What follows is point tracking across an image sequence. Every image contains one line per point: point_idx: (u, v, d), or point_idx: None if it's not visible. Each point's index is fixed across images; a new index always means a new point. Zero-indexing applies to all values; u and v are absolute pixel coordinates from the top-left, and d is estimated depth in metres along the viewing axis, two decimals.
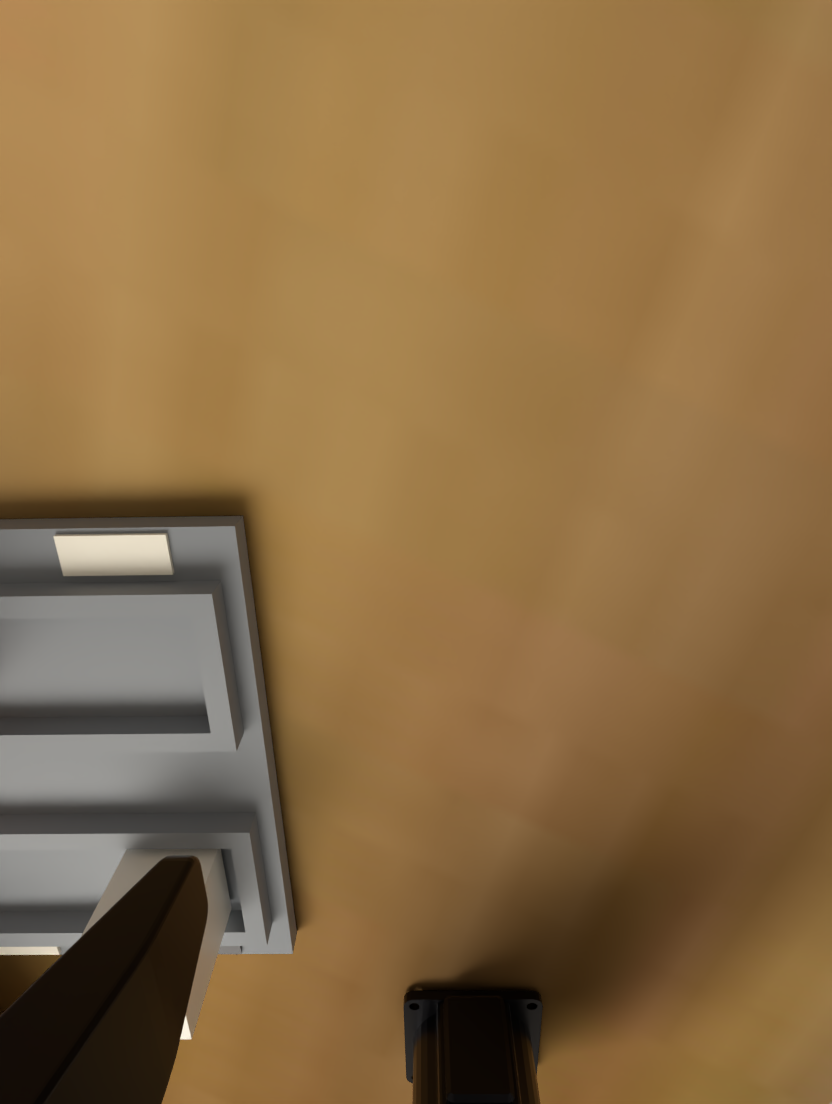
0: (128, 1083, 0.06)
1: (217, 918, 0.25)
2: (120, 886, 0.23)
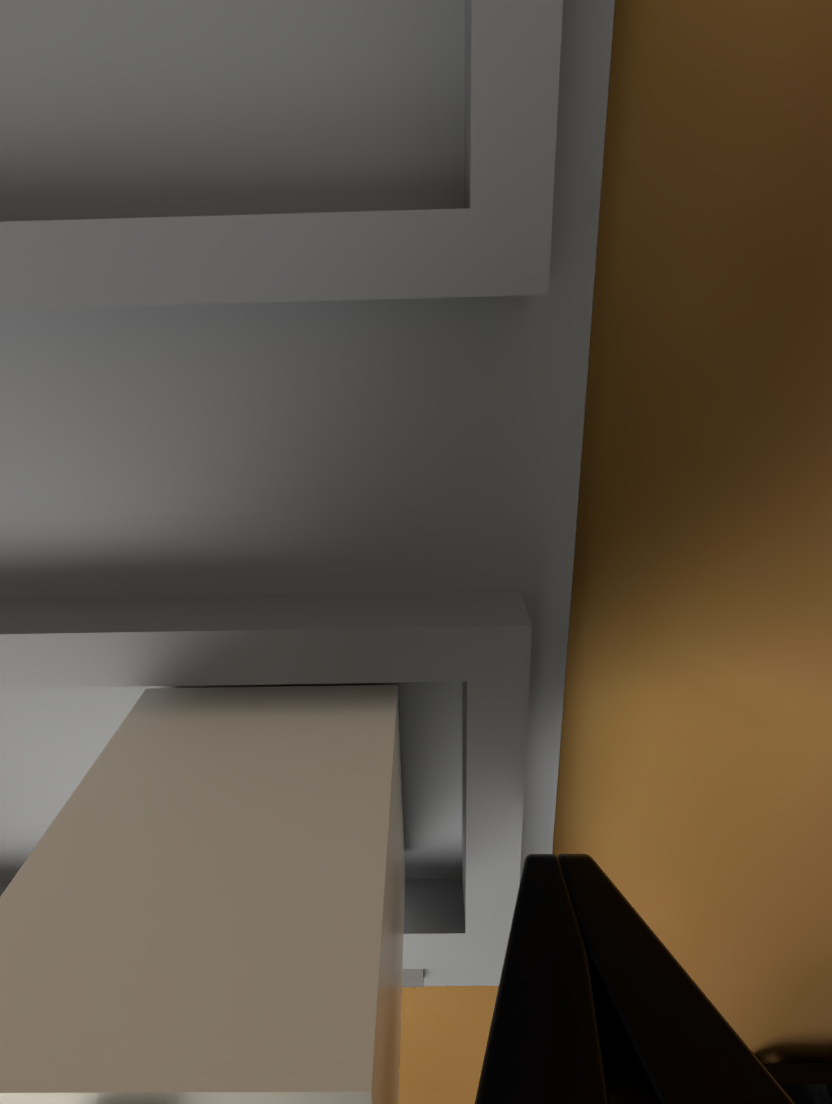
0: None
1: (399, 891, 0.09)
2: (122, 783, 0.07)
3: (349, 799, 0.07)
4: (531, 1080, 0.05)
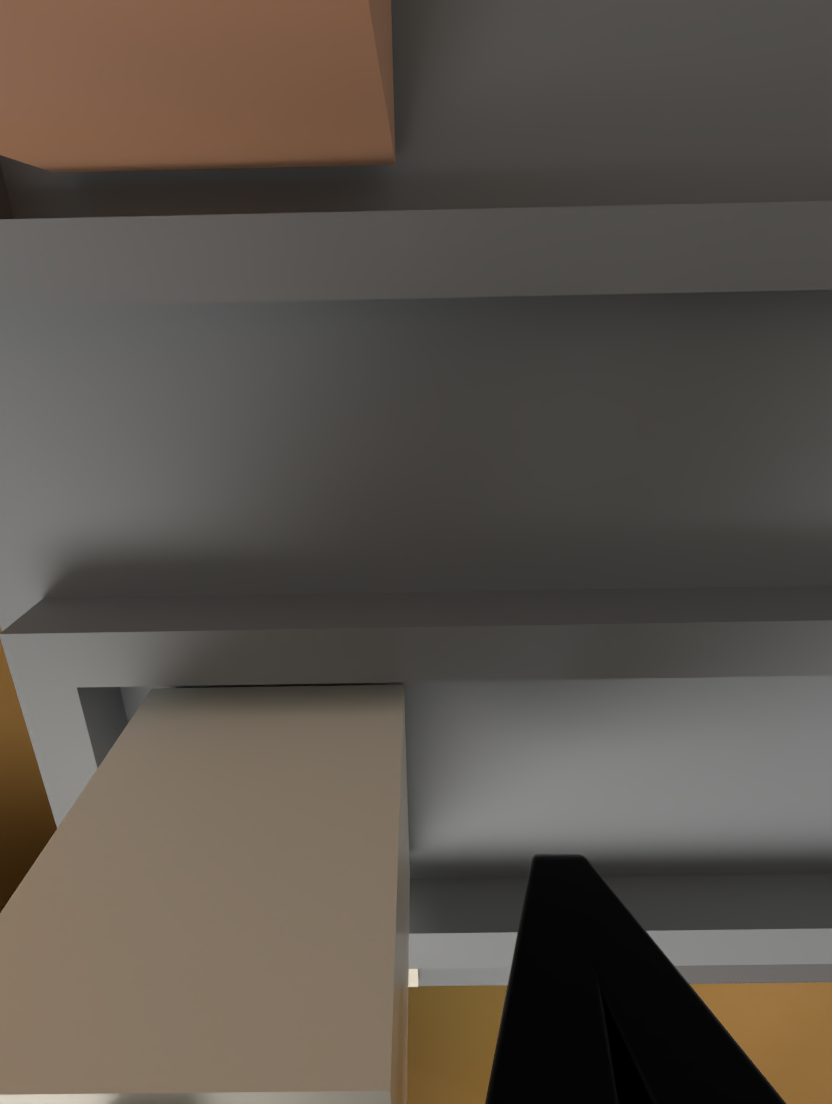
0: None
1: (406, 891, 0.09)
2: (130, 783, 0.07)
3: (359, 798, 0.07)
4: (540, 1080, 0.05)
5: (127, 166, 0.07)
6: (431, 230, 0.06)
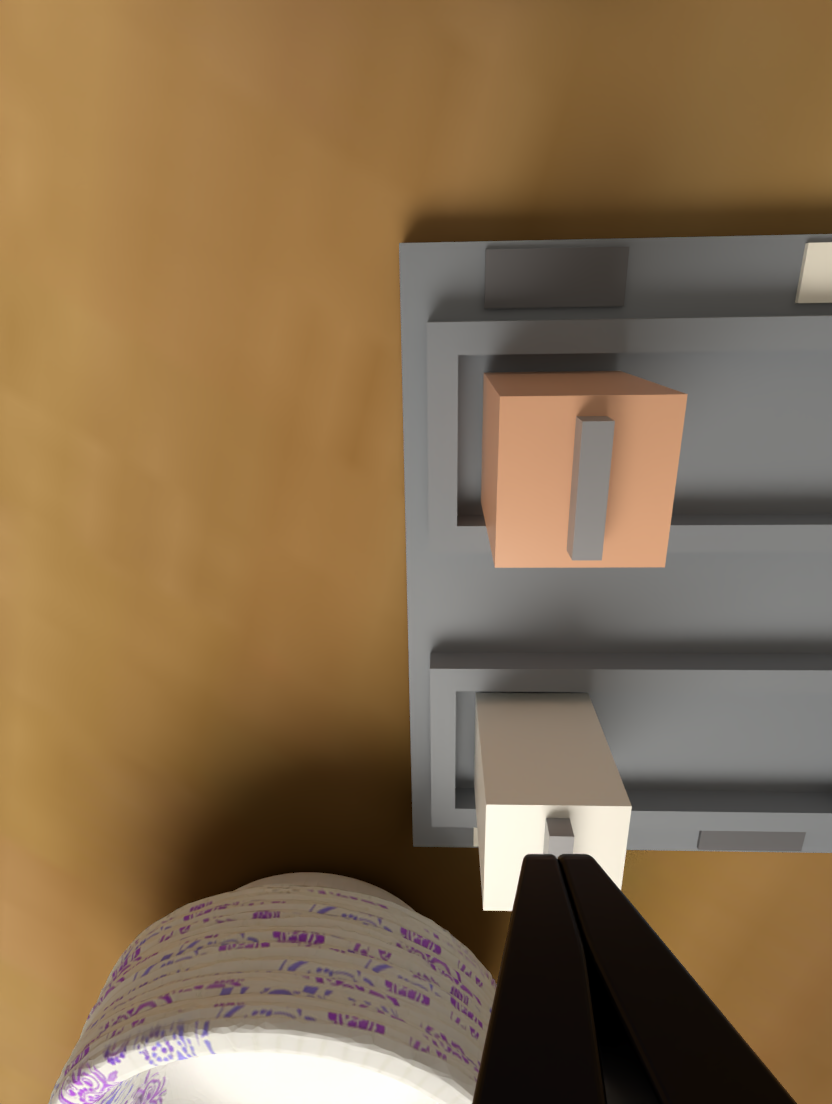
0: None
1: None
2: (496, 729, 0.19)
3: (589, 736, 0.18)
4: (529, 1080, 0.05)
5: None
6: None
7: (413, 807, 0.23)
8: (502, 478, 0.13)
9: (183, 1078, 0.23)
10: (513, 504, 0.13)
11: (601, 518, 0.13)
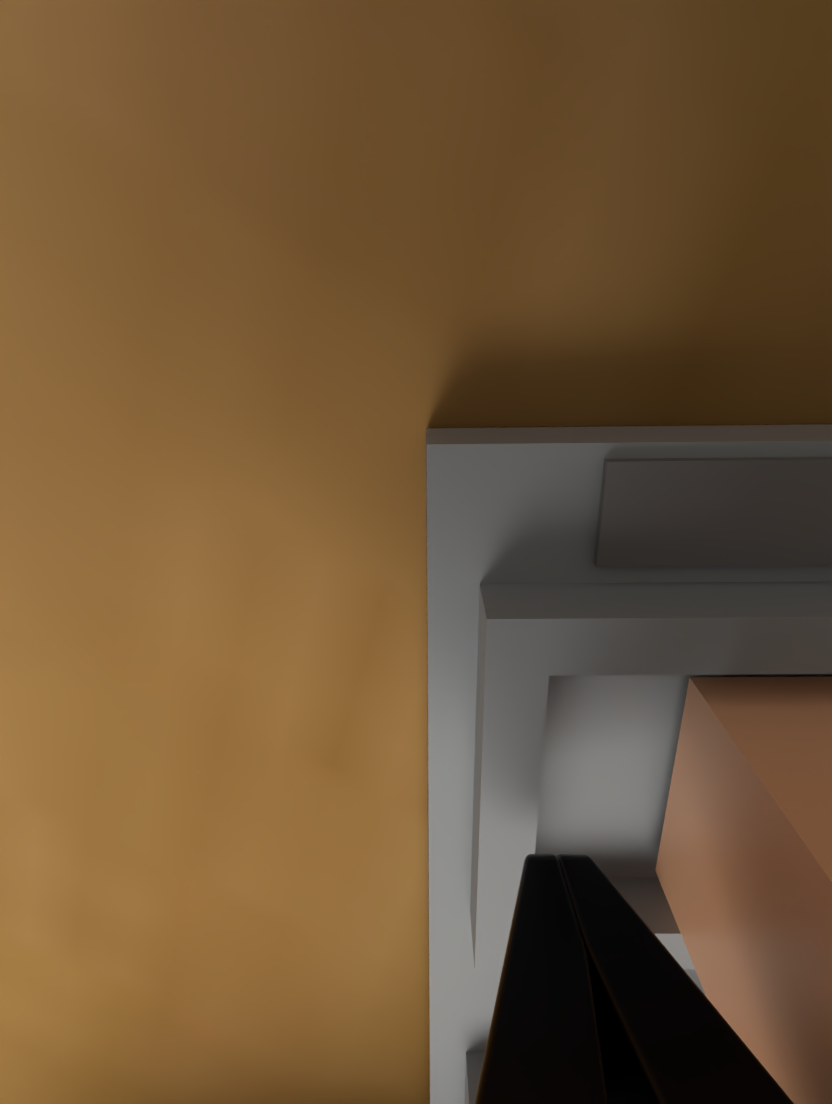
0: None
1: None
2: None
3: None
4: (530, 1080, 0.05)
5: None
6: None
7: None
8: None
9: None
10: None
11: None
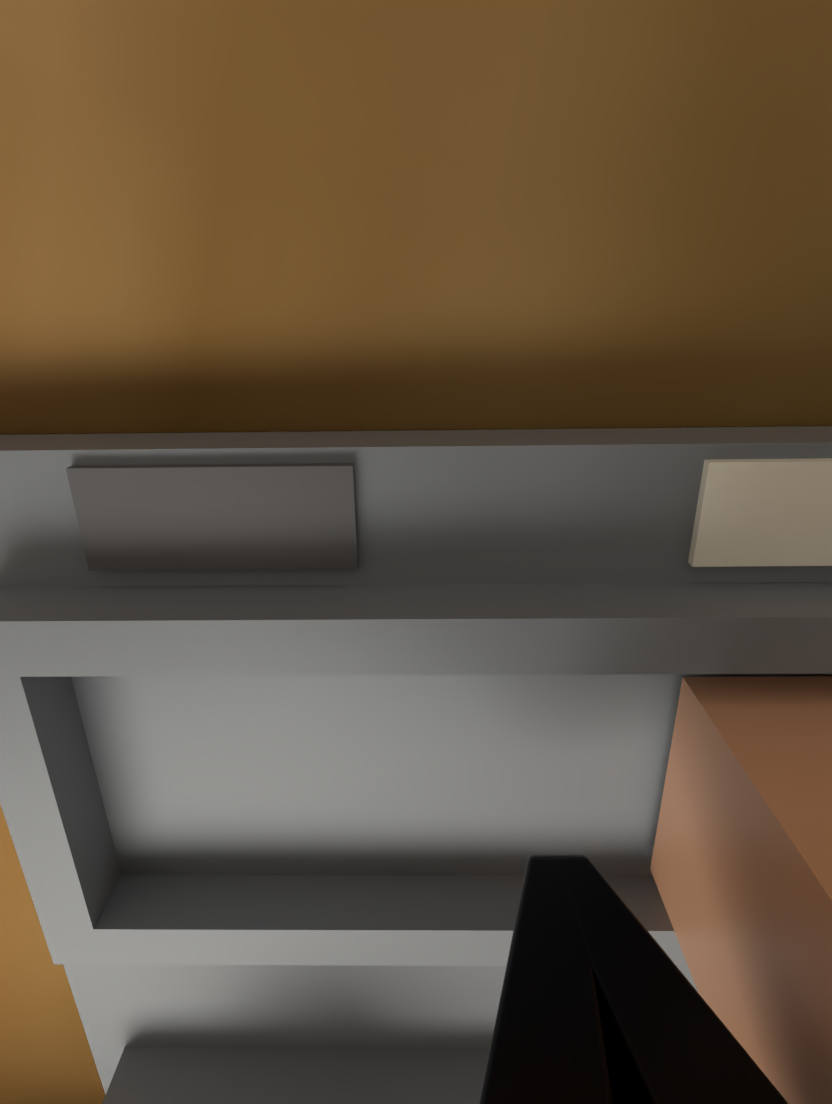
0: None
1: None
2: None
3: None
4: (535, 1080, 0.05)
5: None
6: (393, 937, 0.10)
7: None
8: None
9: None
10: None
11: None
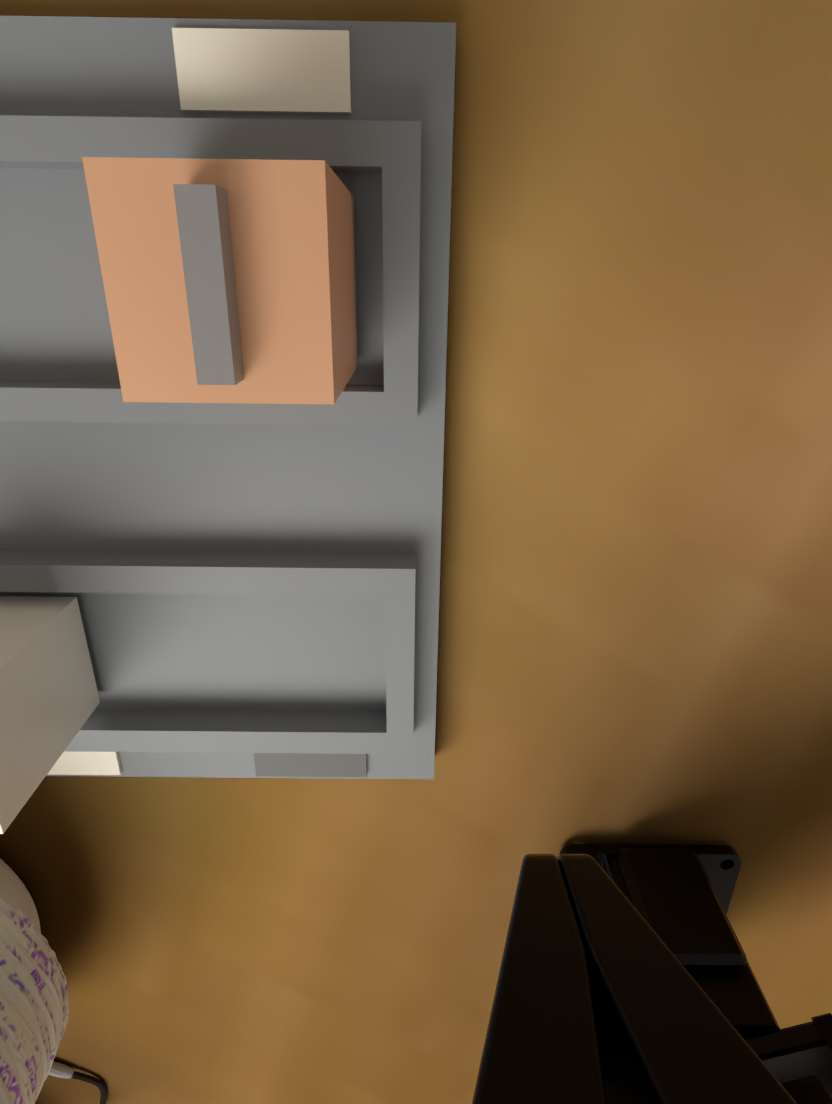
0: None
1: (68, 696, 0.18)
2: None
3: (15, 637, 0.16)
4: (528, 1081, 0.05)
5: None
6: (31, 395, 0.15)
7: None
8: (109, 277, 0.10)
9: None
10: (129, 314, 0.10)
11: (224, 326, 0.10)
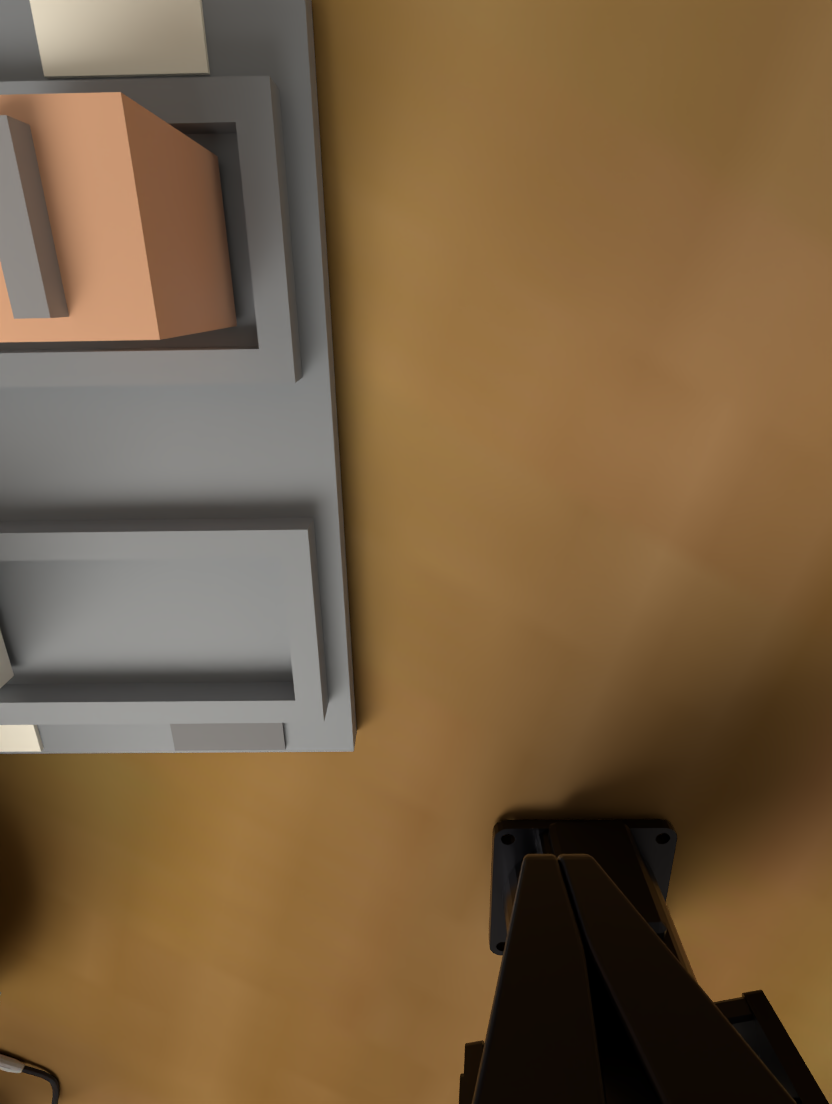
0: None
1: None
2: None
3: None
4: (529, 1081, 0.05)
5: None
6: None
7: None
8: None
9: None
10: None
11: (33, 258, 0.10)
